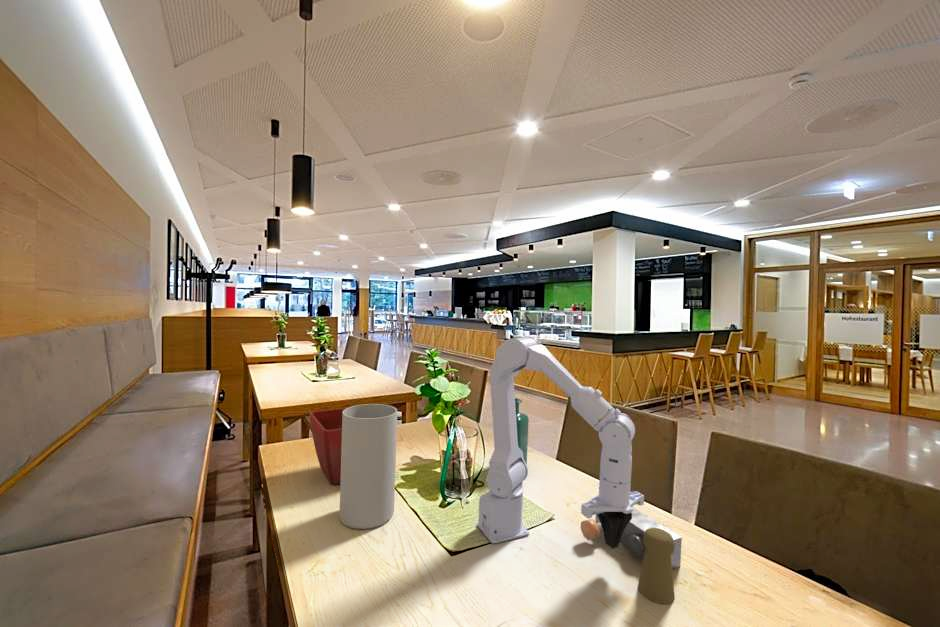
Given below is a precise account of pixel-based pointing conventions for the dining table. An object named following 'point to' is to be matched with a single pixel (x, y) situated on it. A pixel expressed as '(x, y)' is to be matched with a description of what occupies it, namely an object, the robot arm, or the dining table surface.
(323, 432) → the plant pot
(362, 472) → the cylinder vase
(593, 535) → the terracotta knob
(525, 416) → the green bottle
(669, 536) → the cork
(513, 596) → the dining table surface
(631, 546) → the gray knob
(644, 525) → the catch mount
